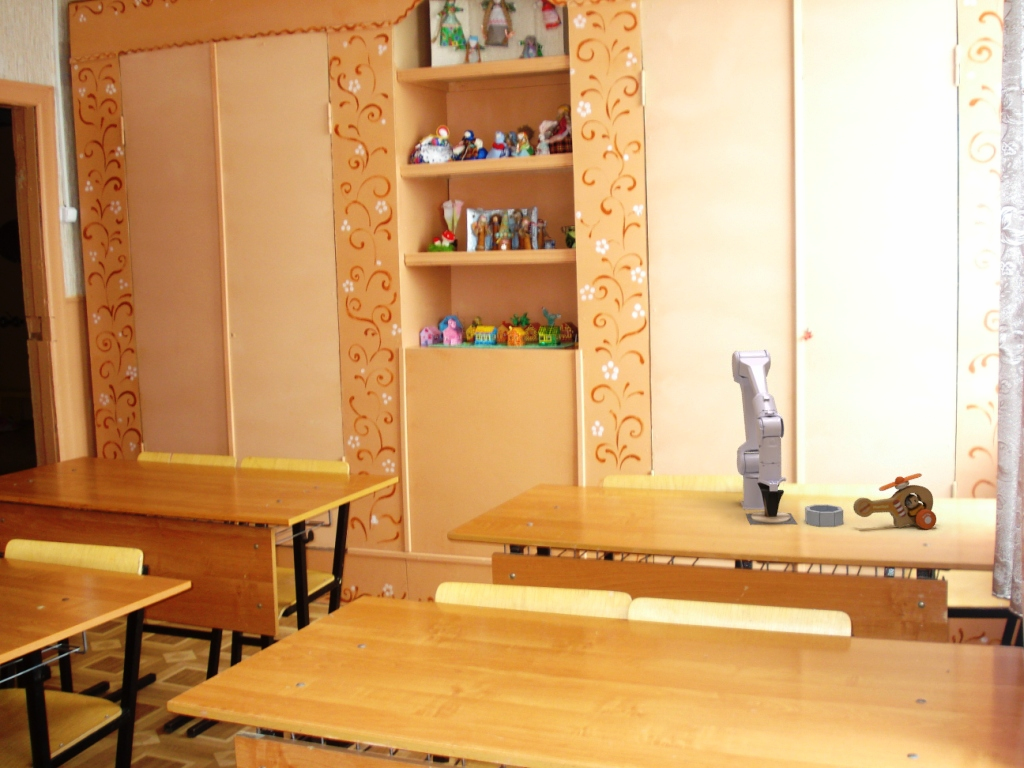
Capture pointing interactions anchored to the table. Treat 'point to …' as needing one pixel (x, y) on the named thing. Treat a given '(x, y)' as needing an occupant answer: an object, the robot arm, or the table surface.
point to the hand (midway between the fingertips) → (770, 512)
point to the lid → (765, 518)
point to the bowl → (824, 515)
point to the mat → (752, 522)
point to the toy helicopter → (902, 504)
